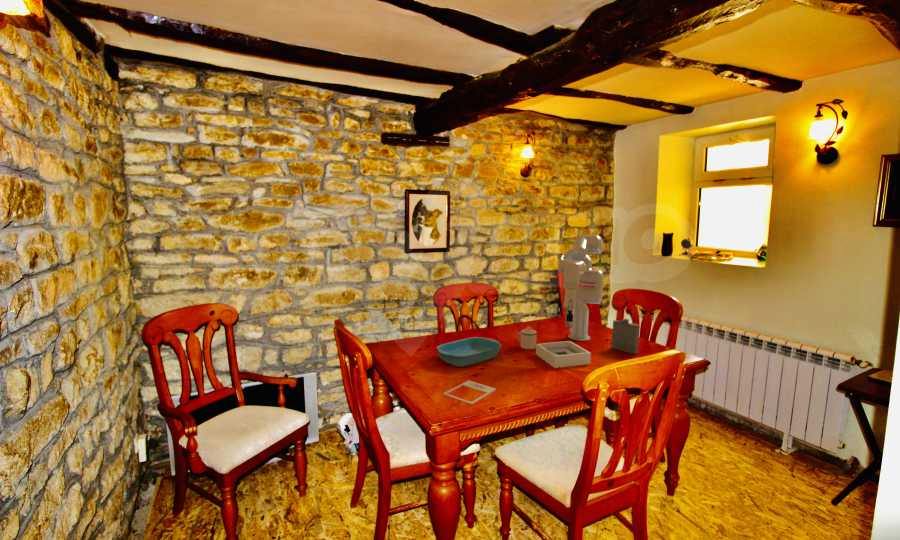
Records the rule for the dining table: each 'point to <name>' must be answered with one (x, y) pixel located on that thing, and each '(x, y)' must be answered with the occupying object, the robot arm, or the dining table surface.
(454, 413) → the dining table surface
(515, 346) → the dining table surface
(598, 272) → the robot arm
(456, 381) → the dining table surface
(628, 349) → the flask
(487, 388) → the photo frame
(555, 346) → the open top box
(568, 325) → the peg
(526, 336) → the teacup with lid
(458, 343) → the casserole dish
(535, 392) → the dining table surface
